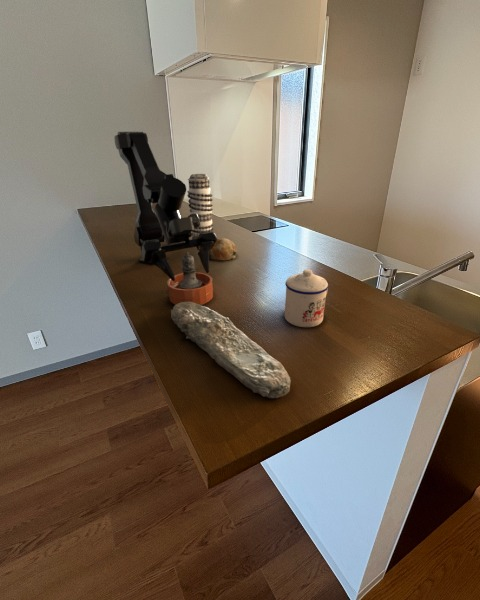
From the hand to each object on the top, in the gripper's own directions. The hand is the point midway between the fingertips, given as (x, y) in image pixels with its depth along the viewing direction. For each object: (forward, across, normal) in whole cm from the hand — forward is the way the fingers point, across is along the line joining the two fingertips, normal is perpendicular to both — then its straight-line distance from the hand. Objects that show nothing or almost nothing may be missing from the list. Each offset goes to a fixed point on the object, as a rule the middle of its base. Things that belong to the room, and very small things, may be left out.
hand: (191, 276), depth 78 cm
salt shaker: (+4, 0, +5) cm, 6 cm away
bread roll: (-13, +21, +23) cm, 34 cm away
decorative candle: (-27, +23, +36) cm, 51 cm away
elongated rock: (+20, -3, -11) cm, 23 cm away
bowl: (+4, 0, +6) cm, 7 cm away
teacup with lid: (+20, +19, -10) cm, 30 cm away
